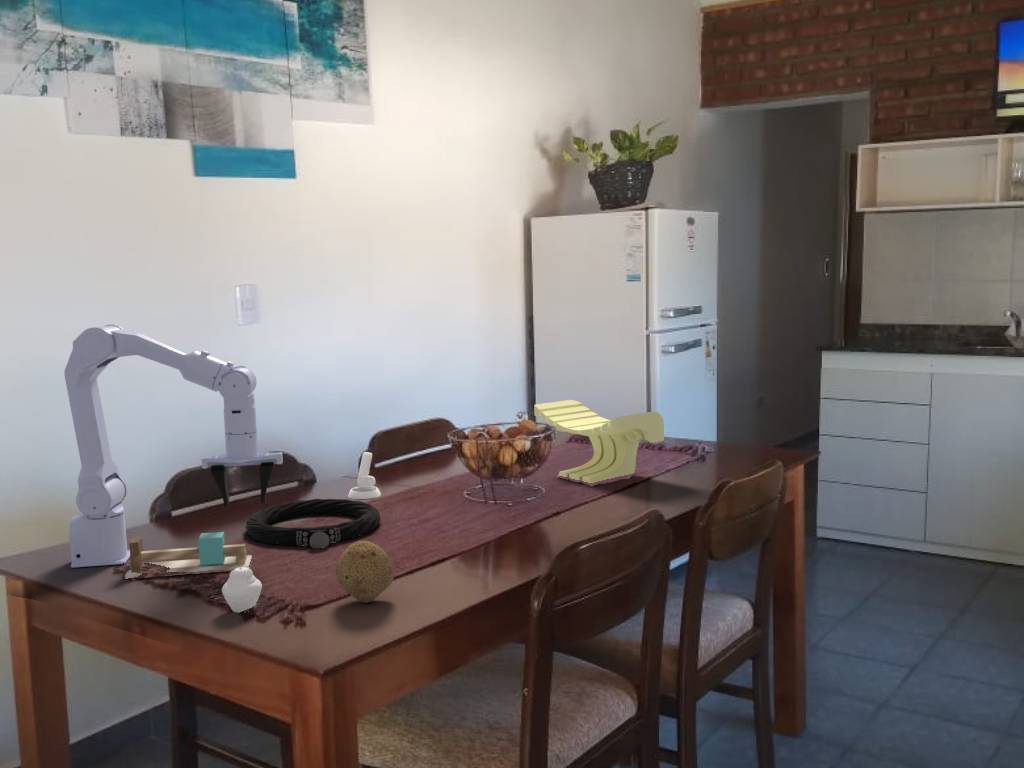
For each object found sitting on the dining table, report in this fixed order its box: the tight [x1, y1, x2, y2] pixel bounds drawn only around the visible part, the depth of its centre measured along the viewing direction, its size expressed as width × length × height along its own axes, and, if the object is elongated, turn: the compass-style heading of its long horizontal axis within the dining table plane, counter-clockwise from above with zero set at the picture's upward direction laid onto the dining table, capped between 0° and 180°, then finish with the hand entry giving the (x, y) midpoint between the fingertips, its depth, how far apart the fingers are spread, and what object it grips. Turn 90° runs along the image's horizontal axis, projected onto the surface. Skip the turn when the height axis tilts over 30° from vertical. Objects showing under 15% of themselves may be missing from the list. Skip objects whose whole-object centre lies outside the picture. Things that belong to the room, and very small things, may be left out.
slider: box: [197, 531, 227, 565], centre depth 176 cm, size 4×4×5 cm
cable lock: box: [244, 498, 381, 549], centre depth 200 cm, size 28×4×30 cm
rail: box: [124, 536, 253, 579], centre depth 175 cm, size 21×7×6 cm, turn 100°
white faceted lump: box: [221, 567, 263, 614], centre depth 153 cm, size 6×6×7 cm
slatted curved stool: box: [533, 399, 665, 483], centre depth 242 cm, size 30×16×18 cm, turn 38°
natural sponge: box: [335, 540, 394, 604], centre depth 156 cm, size 9×9×10 cm
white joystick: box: [347, 451, 382, 500], centre depth 231 cm, size 8×12×7 cm
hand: (245, 503), depth 183 cm, fingers open, 6 cm apart
